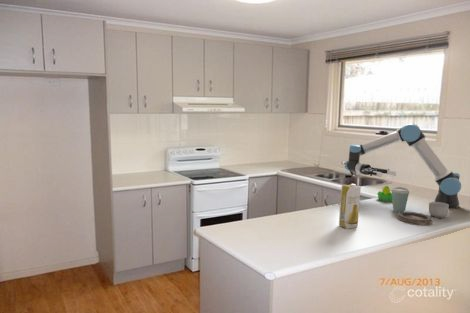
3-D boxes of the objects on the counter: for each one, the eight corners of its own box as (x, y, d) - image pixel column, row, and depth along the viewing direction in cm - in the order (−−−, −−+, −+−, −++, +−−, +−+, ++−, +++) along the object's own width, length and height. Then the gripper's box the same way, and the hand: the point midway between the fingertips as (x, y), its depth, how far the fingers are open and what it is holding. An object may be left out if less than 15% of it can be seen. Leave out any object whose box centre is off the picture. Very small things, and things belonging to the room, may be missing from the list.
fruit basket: (395, 200, 268) (396, 185, 266) (393, 203, 260) (394, 187, 259) (378, 198, 274) (379, 182, 272) (376, 200, 266) (377, 184, 265)
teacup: (450, 219, 224) (451, 206, 222) (430, 218, 226) (432, 205, 225) (442, 213, 237) (443, 201, 236) (423, 212, 239) (425, 199, 238)
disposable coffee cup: (406, 214, 231) (408, 191, 229) (387, 211, 237) (389, 188, 235) (408, 210, 240) (410, 188, 238) (390, 208, 246) (392, 185, 244)
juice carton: (346, 229, 198) (350, 185, 195) (336, 225, 205) (339, 182, 202) (359, 227, 202) (363, 184, 199) (349, 223, 209) (352, 181, 206)
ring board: (411, 214, 233) (411, 210, 233) (439, 222, 216) (440, 218, 216) (389, 217, 225) (390, 213, 224) (417, 226, 208) (418, 222, 208)
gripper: (375, 173, 270) (400, 178, 251) (350, 174, 258) (374, 181, 239) (376, 162, 268) (401, 167, 250) (351, 164, 257) (375, 169, 238)
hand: (388, 174), depth 245 cm, fingers open, 13 cm apart
